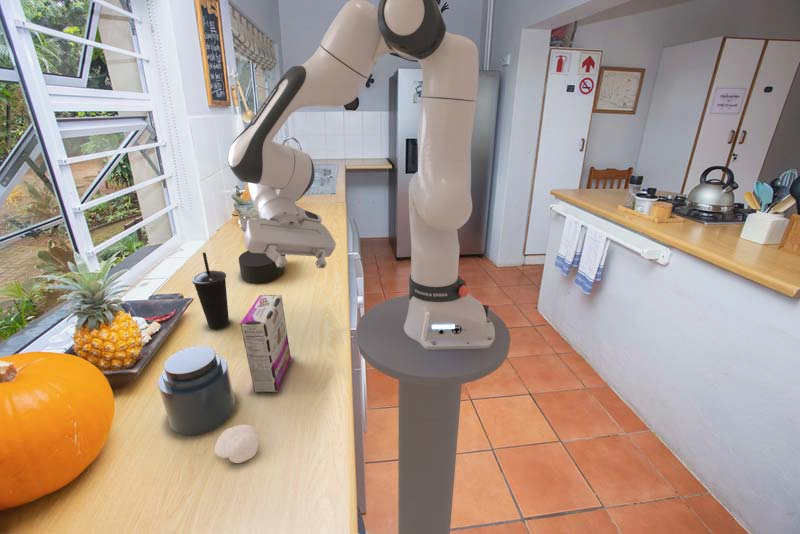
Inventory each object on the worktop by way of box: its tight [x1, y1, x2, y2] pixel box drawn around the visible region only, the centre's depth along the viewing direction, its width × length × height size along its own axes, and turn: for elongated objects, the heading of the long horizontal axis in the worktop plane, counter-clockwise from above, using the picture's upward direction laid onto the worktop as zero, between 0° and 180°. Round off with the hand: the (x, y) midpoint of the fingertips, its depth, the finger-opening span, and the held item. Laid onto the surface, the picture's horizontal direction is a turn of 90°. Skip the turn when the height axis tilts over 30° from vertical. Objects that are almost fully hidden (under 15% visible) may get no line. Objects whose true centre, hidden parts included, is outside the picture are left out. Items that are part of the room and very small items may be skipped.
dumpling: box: [214, 424, 259, 464], centre depth 63 cm, size 7×5×4 cm
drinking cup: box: [191, 251, 230, 330], centre depth 96 cm, size 8×8×20 cm
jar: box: [157, 345, 236, 437], centre depth 69 cm, size 11×11×12 cm
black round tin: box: [238, 250, 286, 285], centre depth 130 cm, size 14×18×8 cm
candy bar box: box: [239, 294, 292, 393], centre depth 78 cm, size 11×5×16 cm, turn 0°
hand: (303, 265), depth 81 cm, fingers open, 8 cm apart
